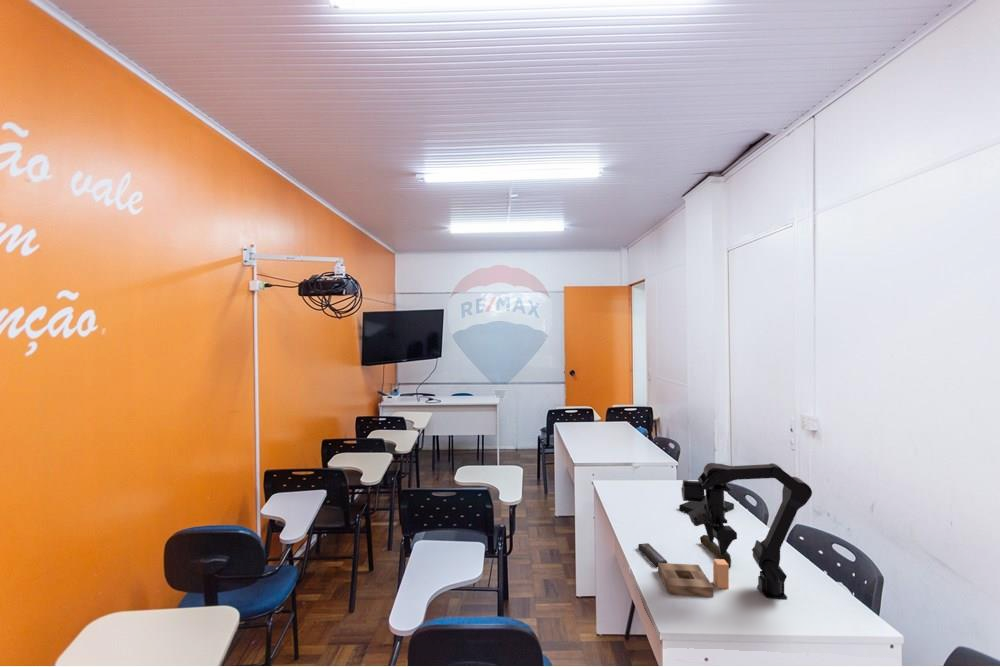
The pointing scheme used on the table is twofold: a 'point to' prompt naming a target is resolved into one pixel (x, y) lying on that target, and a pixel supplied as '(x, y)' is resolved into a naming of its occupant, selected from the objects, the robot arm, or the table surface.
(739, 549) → the table surface
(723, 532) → the robot arm
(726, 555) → the brown long rough piece
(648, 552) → the multiport hub
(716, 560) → the peg
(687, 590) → the socket block
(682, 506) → the external hard drive
